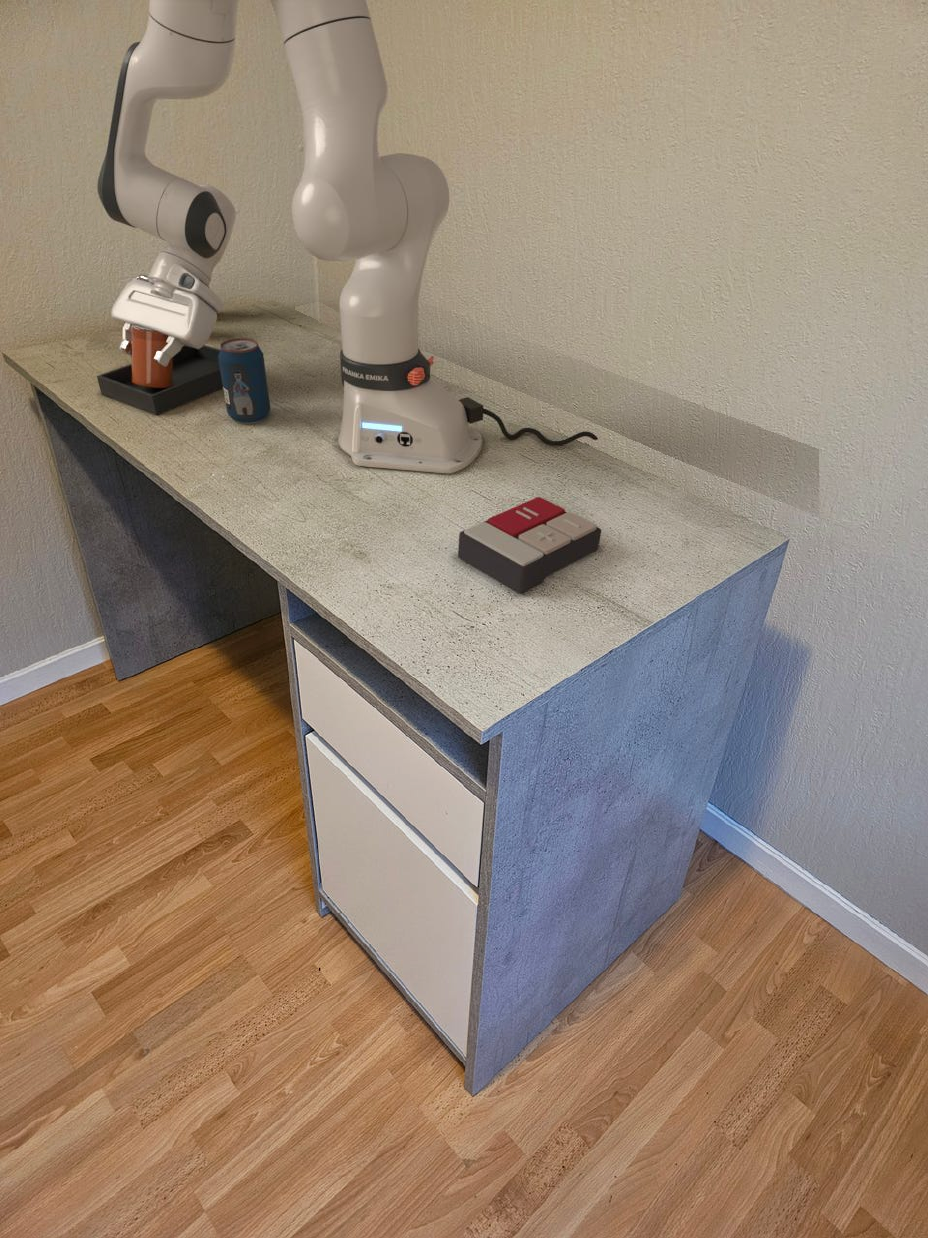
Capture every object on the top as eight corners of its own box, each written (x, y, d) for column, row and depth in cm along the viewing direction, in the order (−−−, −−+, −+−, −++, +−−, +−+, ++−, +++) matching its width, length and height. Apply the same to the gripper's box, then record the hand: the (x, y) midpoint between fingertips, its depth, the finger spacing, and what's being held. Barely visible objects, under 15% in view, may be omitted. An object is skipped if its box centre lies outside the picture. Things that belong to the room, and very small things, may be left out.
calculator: (604, 524, 103) (524, 564, 94) (598, 553, 105) (520, 595, 96) (538, 492, 109) (458, 526, 100) (535, 520, 111) (456, 557, 102)
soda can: (261, 405, 138) (251, 333, 131) (278, 419, 134) (269, 346, 126) (221, 413, 135) (209, 341, 127) (237, 429, 130) (226, 355, 123)
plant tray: (197, 358, 154) (193, 341, 152) (251, 376, 148) (248, 358, 146) (101, 394, 140) (96, 375, 138) (156, 415, 134) (152, 396, 132)
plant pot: (155, 378, 143) (156, 324, 140) (181, 387, 141) (182, 332, 137) (122, 379, 138) (122, 323, 134) (148, 388, 135) (149, 331, 132)
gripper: (122, 261, 138) (87, 335, 138) (206, 283, 129) (169, 362, 129) (149, 283, 144) (116, 353, 143) (231, 305, 135) (196, 381, 134)
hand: (142, 358), depth 136 cm, fingers open, 7 cm apart
